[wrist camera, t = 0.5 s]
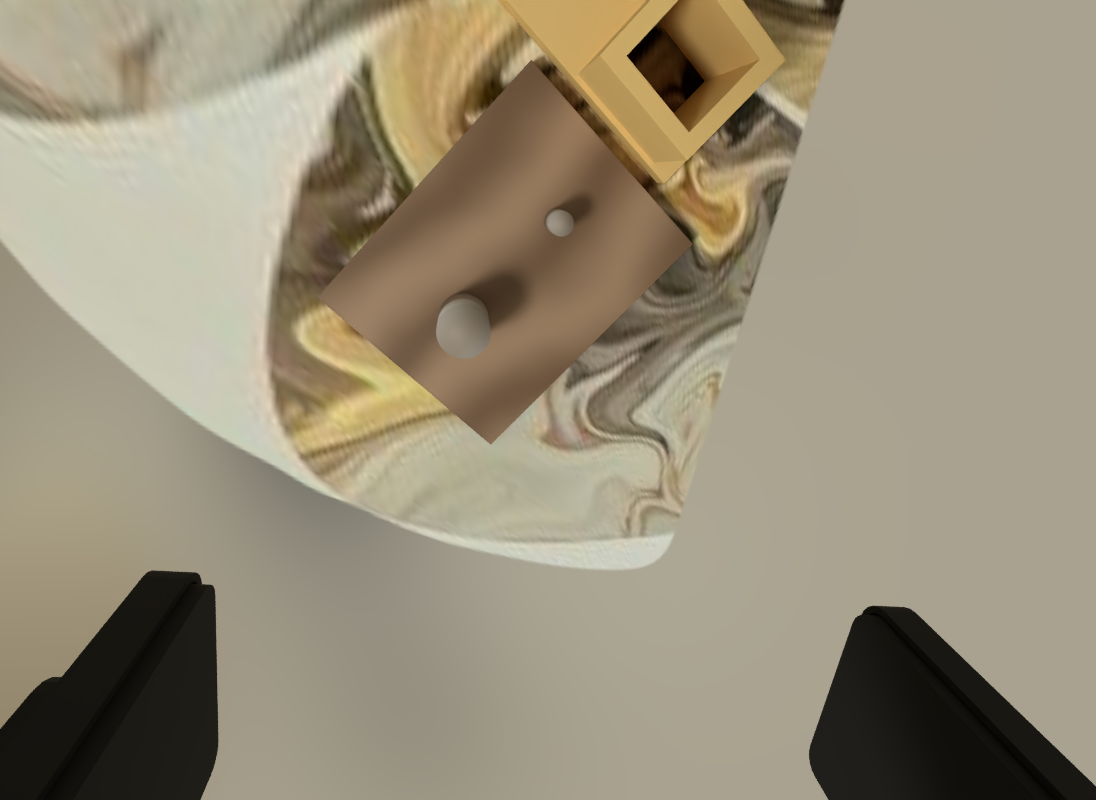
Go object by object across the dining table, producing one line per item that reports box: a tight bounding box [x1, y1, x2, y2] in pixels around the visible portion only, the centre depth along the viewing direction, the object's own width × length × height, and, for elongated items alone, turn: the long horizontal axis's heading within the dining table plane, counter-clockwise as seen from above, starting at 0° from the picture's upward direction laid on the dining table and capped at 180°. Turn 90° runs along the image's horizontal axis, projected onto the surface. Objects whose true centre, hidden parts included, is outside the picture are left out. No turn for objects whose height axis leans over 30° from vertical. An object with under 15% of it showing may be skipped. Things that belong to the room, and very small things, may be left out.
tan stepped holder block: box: [499, 0, 785, 183], centre depth 33 cm, size 16×7×8 cm, turn 45°
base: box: [317, 60, 692, 444], centre depth 37 cm, size 14×18×5 cm
